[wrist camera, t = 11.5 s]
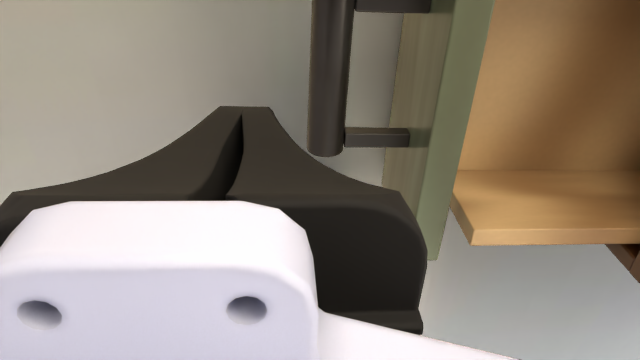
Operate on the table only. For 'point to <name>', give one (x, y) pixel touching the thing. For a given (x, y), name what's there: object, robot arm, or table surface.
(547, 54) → the drawer
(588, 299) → the table surface
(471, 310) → the table surface
